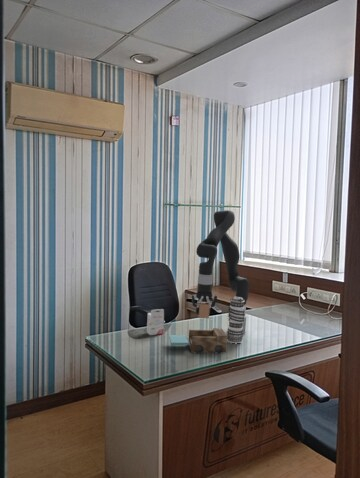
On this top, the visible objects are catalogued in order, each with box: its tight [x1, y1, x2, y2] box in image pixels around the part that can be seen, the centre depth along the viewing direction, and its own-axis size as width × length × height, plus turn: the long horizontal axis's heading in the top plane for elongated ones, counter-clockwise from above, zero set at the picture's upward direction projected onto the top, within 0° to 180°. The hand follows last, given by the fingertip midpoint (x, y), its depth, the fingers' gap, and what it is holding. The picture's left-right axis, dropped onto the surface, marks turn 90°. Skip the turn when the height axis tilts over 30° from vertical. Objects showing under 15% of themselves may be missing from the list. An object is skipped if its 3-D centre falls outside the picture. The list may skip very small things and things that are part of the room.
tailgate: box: [168, 334, 190, 347], centre depth 210 cm, size 2×12×10 cm
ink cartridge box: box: [146, 308, 165, 336], centre depth 231 cm, size 9×5×15 cm, turn 117°
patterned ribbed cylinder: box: [226, 296, 246, 345], centre depth 224 cm, size 9×9×25 cm
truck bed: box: [188, 327, 228, 354], centre depth 211 cm, size 18×14×9 cm
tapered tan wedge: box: [197, 302, 210, 319], centre depth 210 cm, size 5×7×7 cm
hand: (203, 314), depth 210 cm, fingers closed on tapered tan wedge, 5 cm apart
